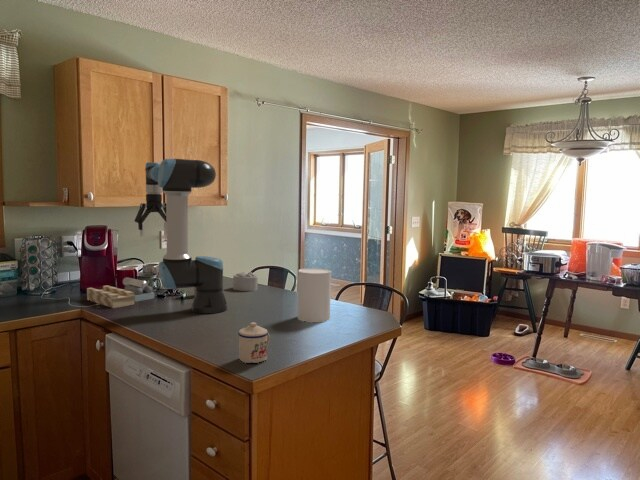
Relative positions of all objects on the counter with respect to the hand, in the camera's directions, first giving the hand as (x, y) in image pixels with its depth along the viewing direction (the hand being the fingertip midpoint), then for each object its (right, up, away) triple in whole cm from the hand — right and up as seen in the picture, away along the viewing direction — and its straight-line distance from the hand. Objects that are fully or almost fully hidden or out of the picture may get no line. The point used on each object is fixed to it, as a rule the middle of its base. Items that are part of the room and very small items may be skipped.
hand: (154, 235), depth 246 cm
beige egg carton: (-13, -31, -22) cm, 40 cm away
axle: (-5, -25, -12) cm, 28 cm away
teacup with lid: (+64, -39, -94) cm, 120 cm away
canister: (+81, -35, -44) cm, 99 cm away
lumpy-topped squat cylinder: (+44, -29, +14) cm, 55 cm away
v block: (-3, -30, -13) cm, 33 cm away
